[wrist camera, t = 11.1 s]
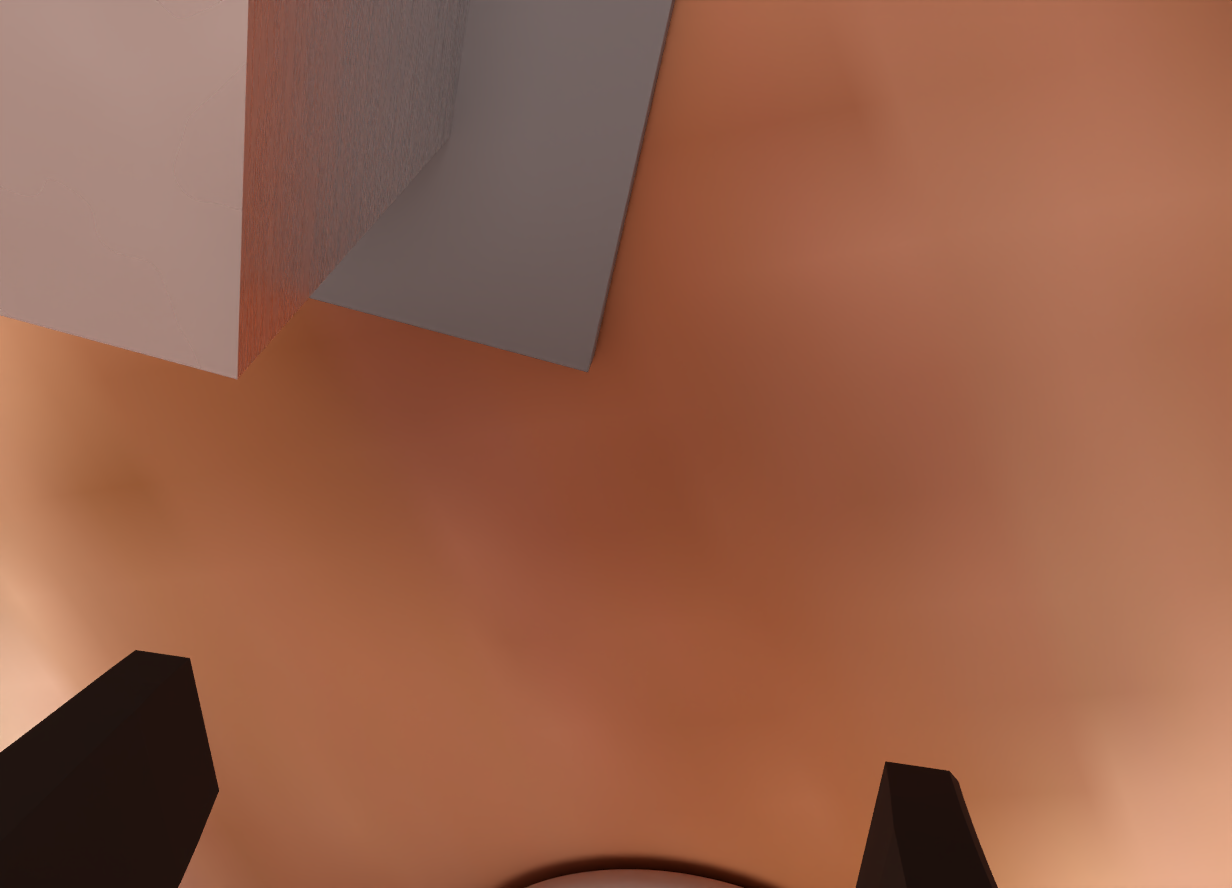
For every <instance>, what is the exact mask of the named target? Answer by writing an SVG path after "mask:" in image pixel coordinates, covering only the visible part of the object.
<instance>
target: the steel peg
mask: <svg viewBox="0 0 1232 888" xmlns="http://www.w3.org/2000/svg"><path fill="white" fill-rule="evenodd" d="M468 5H469V0H0V315H1V316H5V317H9V318H12V319H16V320H20V321H24V322H27V323H31V324H35V325H38V326H42V327H46V328H49V329H53V330H57V331H60V332H64V333H68V334H72V335H75V336H79V337H83V338H86V339H90V340H94V341H97V342H101V343H105V344H108V345H112V346H116V347H120V348H123V349H127V350H131V351H134V352H138V353H142V354H145V355H149V356H153V357H157V358H160V359H164V360H168V361H171V362H175V363H179V364H182V365H186V366H190V367H193V368H197V369H201V370H205V371H208V372H212V373H216V374H219V375H223V376H227V377H230V378H234V379H238V378H239V377H240V376H241V374H242V373H243V372H244V371H245V370H246V369H247V368H248V367H249V365H250V364H251V363H252V362H253V361H254V360H255V359H256V357H257V356H258V355H259V354H260V353H261V352H262V351H263V349H264V348H265V347H266V346H267V345H268V344H269V343H270V341H271V340H272V339H273V338H274V337H275V336H276V335H277V333H278V332H279V331H280V330H281V329H282V328H283V327H284V325H285V324H286V323H287V322H288V321H289V320H290V319H291V317H292V316H293V315H294V314H295V313H296V312H297V311H298V309H299V308H300V307H301V306H302V305H303V304H304V303H305V302H306V300H307V299H308V298H309V297H310V296H311V295H312V294H313V292H314V291H315V290H316V289H317V288H318V287H319V286H320V284H321V283H322V282H323V281H324V280H325V279H326V278H327V276H328V275H329V274H330V273H331V272H332V271H333V270H334V268H335V267H336V266H337V265H338V264H339V263H340V262H341V260H342V259H343V258H344V257H345V256H346V255H347V254H348V252H349V251H350V250H351V249H352V248H353V247H354V246H355V244H356V243H357V242H358V241H359V240H360V239H361V238H362V236H363V235H364V234H365V233H366V232H367V231H368V230H369V229H370V227H371V226H372V225H373V224H374V223H375V222H376V221H377V219H378V218H379V217H380V216H381V215H382V214H383V213H384V211H385V210H386V209H387V208H388V207H389V206H390V205H391V203H392V202H393V201H394V200H395V199H396V198H397V197H398V195H399V194H400V193H401V192H402V191H403V190H404V189H405V187H406V186H407V185H408V184H409V183H410V182H411V181H412V179H413V178H414V177H415V176H416V175H417V174H418V173H419V171H420V170H421V169H422V168H423V167H424V166H425V165H426V164H427V162H428V161H429V160H430V159H431V158H432V157H433V156H434V154H435V153H436V152H437V151H438V150H439V149H440V148H441V146H442V145H443V144H444V143H445V142H446V141H447V140H448V138H449V137H450V136H451V132H452V125H453V117H454V110H455V102H456V95H457V87H458V80H459V72H460V65H461V57H462V50H463V42H464V35H465V27H466V20H467V12H468Z"/></svg>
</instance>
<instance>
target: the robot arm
mask: <svg viewBox="0 0 1232 888" xmlns="http://www.w3.org/2000/svg"><path fill="white" fill-rule="evenodd" d="M218 792H219V788H218V784H217V779H216V775H215V770H214V766H213V761H212V757H211V752H210V747H209V743H208V738H207V734H206V729H205V725H204V720H203V716H202V711H201V707H200V702H199V698H198V693H197V688H196V684H195V679H194V675H193V670H192V666H191V661H190V658H185V657H178V656H172V655H165V654H158V653H152V652H145V651H138V650H135V651H134V652H132V653H131V654H130V655H128V656H127V657H126V658H124V659H123V660H122V661H120V662H119V663H117V664H116V665H115V666H113V667H112V668H111V669H109V670H108V671H107V672H105V673H104V674H103V675H101V676H100V677H99V678H98V679H96V680H95V681H94V682H92V683H91V684H90V685H88V686H87V687H86V688H84V689H83V690H82V691H81V692H79V693H78V694H77V695H75V696H74V697H73V698H71V699H70V700H69V701H67V702H66V703H65V704H63V705H62V706H61V707H60V708H58V709H57V710H56V711H54V712H53V713H52V714H50V715H49V716H48V717H47V718H45V719H44V720H43V721H41V722H40V723H39V724H37V725H36V726H35V727H33V728H32V729H31V730H29V731H28V732H27V733H25V734H24V735H23V736H22V737H20V738H19V739H18V740H16V741H15V742H14V743H12V744H11V745H10V746H8V747H7V748H6V749H4V750H3V751H2V752H0V888H178V886H179V884H180V883H181V880H182V878H183V876H184V874H185V871H186V869H187V867H188V864H189V862H190V860H191V858H192V855H193V853H194V851H195V848H196V846H197V844H198V841H199V839H200V837H201V834H202V832H203V829H204V827H205V824H206V822H207V819H208V817H209V814H210V812H211V809H212V807H213V804H214V802H215V799H216V797H217V794H218ZM856 888H998V887H997V884H996V882H995V880H994V877H993V875H992V872H991V870H990V868H989V865H988V863H987V860H986V858H985V855H984V853H983V850H982V848H981V845H980V842H979V840H978V837H977V834H976V832H975V829H974V826H973V824H972V821H971V818H970V815H969V812H968V809H967V807H966V804H965V801H964V798H963V795H962V792H961V788H960V785H959V782H958V780H957V779H956V778H955V777H954V776H953V775H952V773H951V772H950V771H946V770H939V769H933V768H926V767H919V766H912V765H906V764H899V763H892V762H885V766H884V770H883V774H882V779H881V783H880V787H879V791H878V796H877V800H876V804H875V808H874V813H873V817H872V821H871V825H870V830H869V834H868V838H867V842H866V847H865V851H864V855H863V859H862V864H861V868H860V872H859V876H858V881H857V885H856Z"/></svg>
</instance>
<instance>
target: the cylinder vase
mask: <svg viewBox="0 0 1232 888" xmlns="http://www.w3.org/2000/svg"><path fill="white" fill-rule="evenodd" d="M525 888H743V887H740V886H736V885H733V884H729V883H726V882H722V881H718V880H714V879H710V878H705V877H700V876H695V875H689V874H683V873H676V872H668V871H658V870H642V869H614V870H599V871H589V872H582V873H576V874H570V875H565V876H560V877H556V878H552V879H549V880H545V881H542V882H539V883H536V884H533V885H531V886H528V887H525Z"/></svg>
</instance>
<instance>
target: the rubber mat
mask: <svg viewBox="0 0 1232 888" xmlns="http://www.w3.org/2000/svg"><path fill="white" fill-rule="evenodd" d="M674 3H675V0H469V5H468V12H467V20H466V27H465V35H464V42H463V50H462V57H461V65H460V72H459V80H458V87H457V95H456V102H455V110H454V117H453V125H452V132H451V136H450V137H449V138H448V140H447V141H446V142H445V143H444V144H443V145H442V146H441V148H440V149H439V150H438V151H437V152H436V153H435V154H434V156H433V157H432V158H431V159H430V160H429V161H428V162H427V164H426V165H425V166H424V167H423V168H422V169H421V170H420V171H419V173H418V174H417V175H416V176H415V177H414V178H413V179H412V181H411V182H410V183H409V184H408V185H407V186H406V187H405V189H404V190H403V191H402V192H401V193H400V194H399V195H398V197H397V198H396V199H395V200H394V201H393V202H392V203H391V205H390V206H389V207H388V208H387V209H386V210H385V211H384V213H383V214H382V215H381V216H380V217H379V218H378V219H377V221H376V222H375V223H374V224H373V225H372V226H371V227H370V229H369V230H368V231H367V232H366V233H365V234H364V235H363V236H362V238H361V239H360V240H359V241H358V242H357V243H356V244H355V246H354V247H353V248H352V249H351V250H350V251H349V252H348V254H347V255H346V256H345V257H344V258H343V259H342V260H341V262H340V263H339V264H338V265H337V266H336V267H335V268H334V270H333V271H332V272H331V273H330V274H329V275H328V276H327V278H326V279H325V280H324V281H323V282H322V283H321V284H320V286H319V287H318V288H317V289H316V290H315V291H314V292H313V294H312V295H311V296H310V297H309V298H312V299H316V300H319V301H323V302H327V303H331V304H334V305H338V306H342V307H346V308H349V309H353V310H357V311H361V312H364V313H368V314H372V315H376V316H379V317H383V318H387V319H390V320H394V321H398V322H402V323H405V324H409V325H413V326H417V327H420V328H424V329H428V330H432V331H435V332H439V333H443V334H447V335H450V336H454V337H458V338H462V339H465V340H469V341H473V342H477V343H480V344H484V345H488V346H492V347H495V348H499V349H503V350H507V351H510V352H514V353H518V354H522V355H525V356H529V357H533V358H536V359H540V360H544V361H548V362H551V363H555V364H559V365H563V366H566V367H570V368H574V369H578V370H581V371H585V372H588V371H589V368H590V365H591V363H592V360H593V357H594V354H595V349H596V345H597V341H598V336H599V332H600V327H601V323H602V319H603V314H604V310H605V305H606V301H607V297H608V292H609V288H610V284H611V279H612V275H613V270H614V266H615V262H616V257H617V253H618V248H619V244H620V240H621V235H622V231H623V226H624V222H625V218H626V213H627V209H628V205H629V200H630V196H631V191H632V187H633V183H634V178H635V174H636V169H637V165H638V161H639V156H640V152H641V147H642V143H643V139H644V134H645V130H646V126H647V121H648V117H649V112H650V108H651V104H652V99H653V95H654V90H655V86H656V82H657V77H658V73H659V69H660V64H661V60H662V55H663V51H664V47H665V42H666V38H667V33H668V29H669V25H670V20H671V16H672V11H673V7H674Z"/></svg>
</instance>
